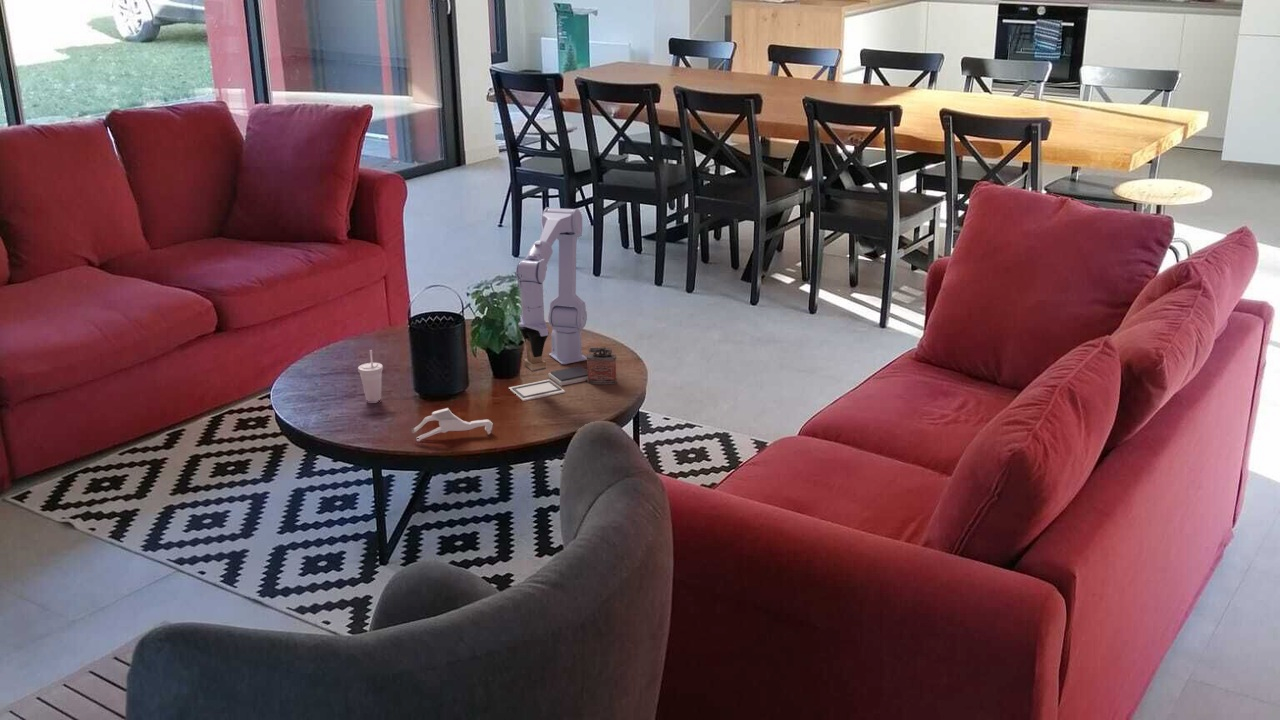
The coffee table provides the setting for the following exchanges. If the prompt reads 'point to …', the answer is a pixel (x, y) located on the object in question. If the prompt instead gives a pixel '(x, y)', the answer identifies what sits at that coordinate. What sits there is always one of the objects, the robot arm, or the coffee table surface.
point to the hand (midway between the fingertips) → (535, 354)
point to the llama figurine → (450, 423)
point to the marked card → (536, 390)
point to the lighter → (601, 366)
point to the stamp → (533, 359)
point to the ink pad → (569, 375)
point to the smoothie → (371, 379)
